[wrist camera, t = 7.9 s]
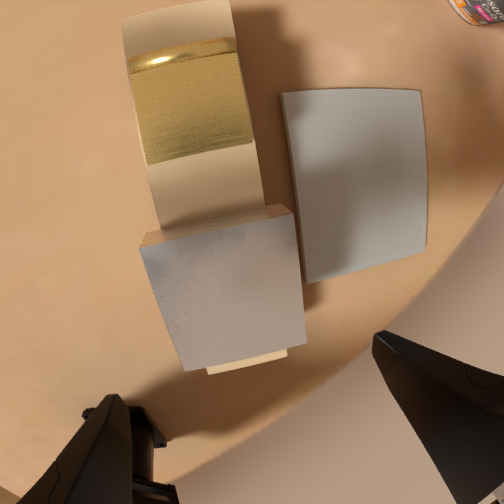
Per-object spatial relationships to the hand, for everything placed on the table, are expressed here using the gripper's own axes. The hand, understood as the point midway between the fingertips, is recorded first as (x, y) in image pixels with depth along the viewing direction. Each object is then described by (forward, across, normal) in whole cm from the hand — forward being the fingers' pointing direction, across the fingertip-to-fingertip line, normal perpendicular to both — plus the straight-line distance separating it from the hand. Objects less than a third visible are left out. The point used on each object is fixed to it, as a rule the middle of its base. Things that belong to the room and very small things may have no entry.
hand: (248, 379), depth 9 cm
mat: (+10, -10, -3) cm, 15 cm away
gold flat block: (+6, 0, -11) cm, 13 cm away
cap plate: (+7, 0, 0) cm, 7 cm away
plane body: (+10, 0, -4) cm, 11 cm away
